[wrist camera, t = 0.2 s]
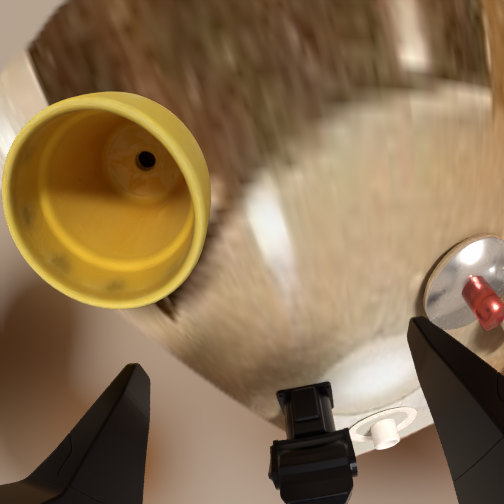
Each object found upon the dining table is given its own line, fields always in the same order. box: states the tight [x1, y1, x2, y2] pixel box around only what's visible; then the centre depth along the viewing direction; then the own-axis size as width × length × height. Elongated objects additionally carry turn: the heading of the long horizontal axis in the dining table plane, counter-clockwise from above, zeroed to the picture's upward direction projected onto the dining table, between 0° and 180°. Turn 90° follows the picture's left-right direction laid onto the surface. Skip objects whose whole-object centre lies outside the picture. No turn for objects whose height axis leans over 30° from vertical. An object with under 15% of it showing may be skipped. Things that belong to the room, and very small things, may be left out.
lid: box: [423, 233, 504, 331], centre depth 24 cm, size 11×11×6 cm
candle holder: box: [349, 407, 417, 450], centre depth 41 cm, size 12×12×4 cm
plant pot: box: [2, 92, 211, 309], centre depth 16 cm, size 10×10×10 cm
